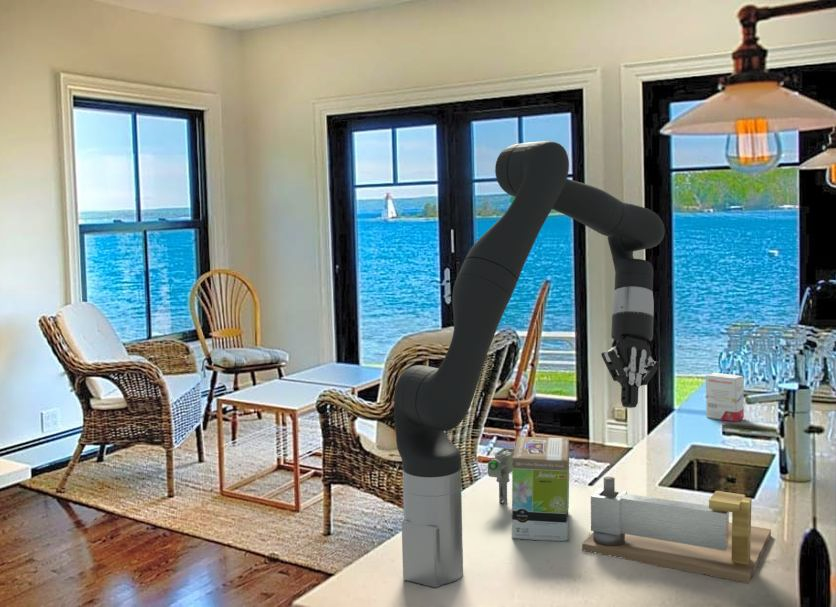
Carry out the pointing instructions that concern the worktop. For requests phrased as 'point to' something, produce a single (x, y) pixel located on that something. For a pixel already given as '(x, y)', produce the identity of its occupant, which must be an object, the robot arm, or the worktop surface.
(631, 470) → the worktop surface
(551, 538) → the tea box
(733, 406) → the ink box
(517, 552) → the worktop surface
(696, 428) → the worktop surface
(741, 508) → the latch board
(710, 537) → the link
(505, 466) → the mechanical component
